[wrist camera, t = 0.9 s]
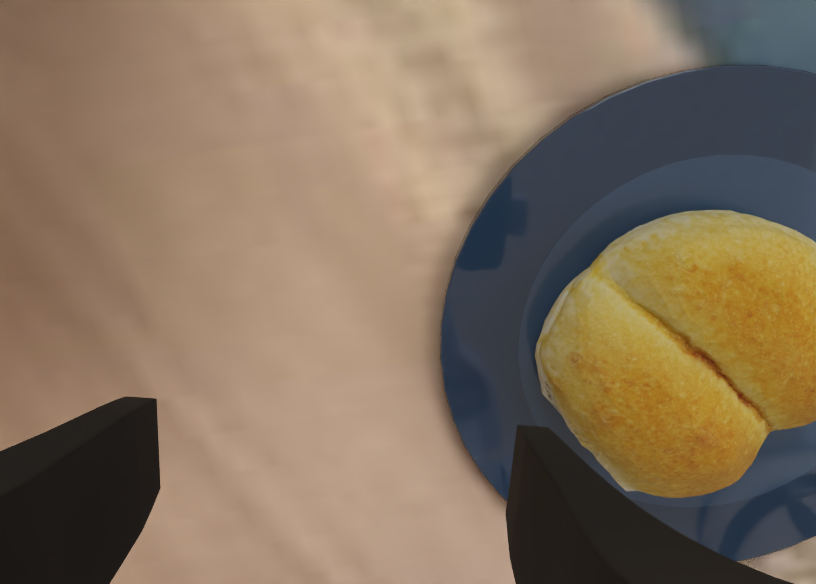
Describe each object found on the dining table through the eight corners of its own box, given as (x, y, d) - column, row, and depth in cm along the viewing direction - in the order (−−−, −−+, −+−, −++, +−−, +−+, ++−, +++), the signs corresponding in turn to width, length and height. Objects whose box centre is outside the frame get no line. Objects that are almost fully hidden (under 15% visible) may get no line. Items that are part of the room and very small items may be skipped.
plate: (892, 574, 26) (901, 584, 25) (422, 541, 26) (422, 550, 25) (1052, 84, 20) (1068, 85, 20) (463, 45, 21) (464, 44, 20)
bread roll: (874, 333, 22) (967, 388, 19) (645, 498, 24) (686, 579, 21) (718, 137, 21) (784, 154, 17) (485, 333, 23) (498, 388, 19)
